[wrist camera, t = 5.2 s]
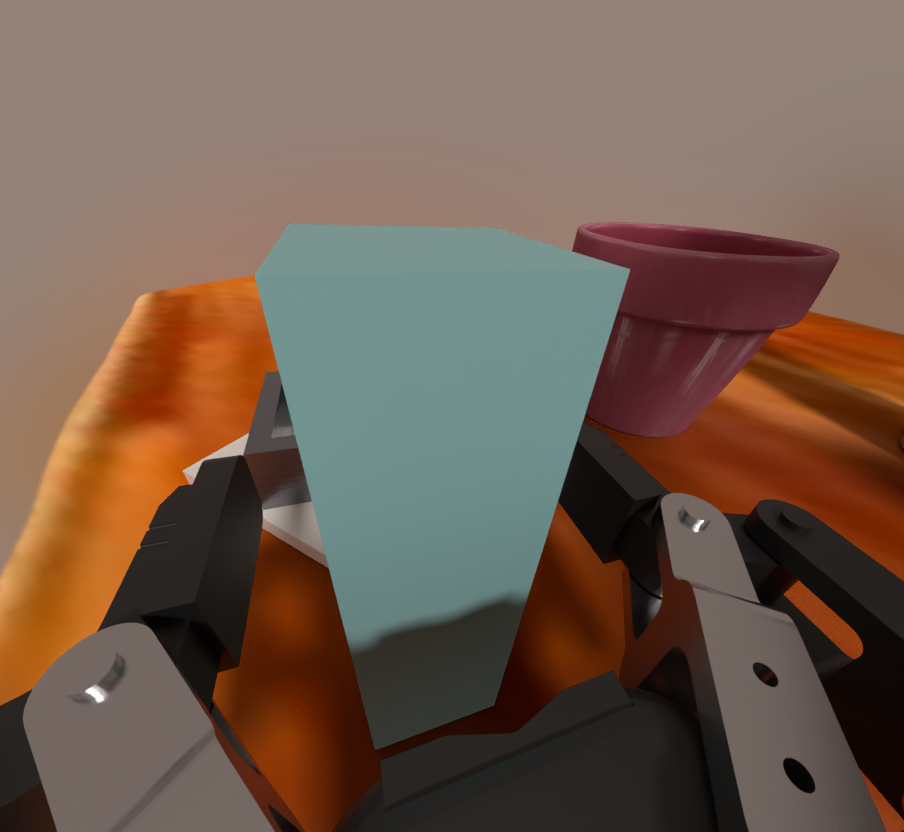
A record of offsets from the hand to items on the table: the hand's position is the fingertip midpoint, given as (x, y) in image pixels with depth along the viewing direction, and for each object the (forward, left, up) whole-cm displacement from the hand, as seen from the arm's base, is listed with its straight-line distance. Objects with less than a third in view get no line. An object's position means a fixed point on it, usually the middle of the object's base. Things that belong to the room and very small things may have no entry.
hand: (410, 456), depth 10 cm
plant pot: (-23, +6, -9) cm, 25 cm away
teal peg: (+1, +1, -8) cm, 9 cm away
